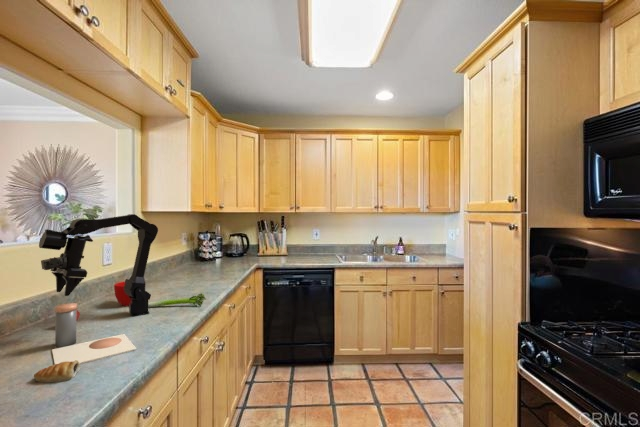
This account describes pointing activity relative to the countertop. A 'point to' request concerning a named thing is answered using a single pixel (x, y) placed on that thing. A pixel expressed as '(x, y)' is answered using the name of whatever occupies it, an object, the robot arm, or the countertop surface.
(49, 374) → the pastry
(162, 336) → the countertop surface
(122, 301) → the ceramic cup
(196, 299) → the celery
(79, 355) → the card
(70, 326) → the tube
